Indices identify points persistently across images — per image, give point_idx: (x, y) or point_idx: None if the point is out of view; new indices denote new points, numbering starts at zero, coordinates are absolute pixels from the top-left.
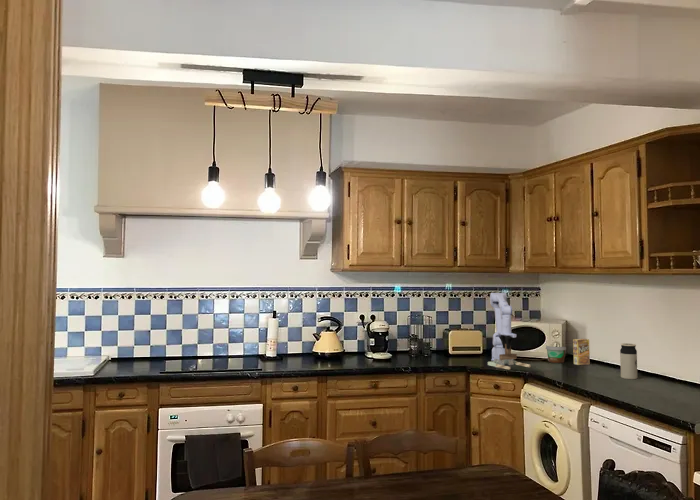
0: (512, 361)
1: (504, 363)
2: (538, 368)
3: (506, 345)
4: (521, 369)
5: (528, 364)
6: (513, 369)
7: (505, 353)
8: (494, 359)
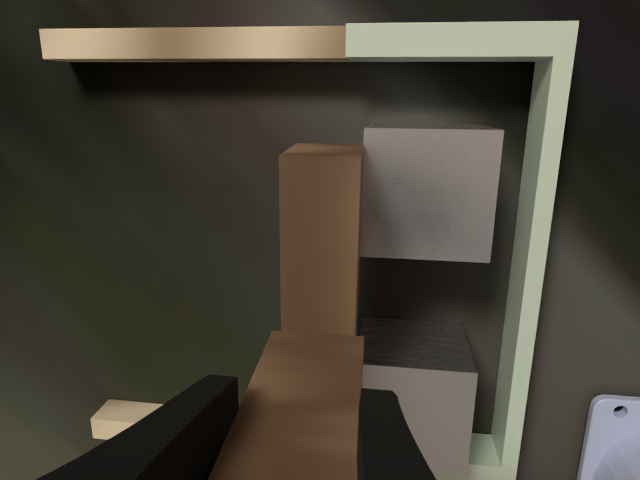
0: None
1: (453, 328)
2: (12, 422)
3: (189, 415)
4: (23, 205)
5: (110, 426)
6: (59, 109)
7: (349, 342)
8: (494, 130)
